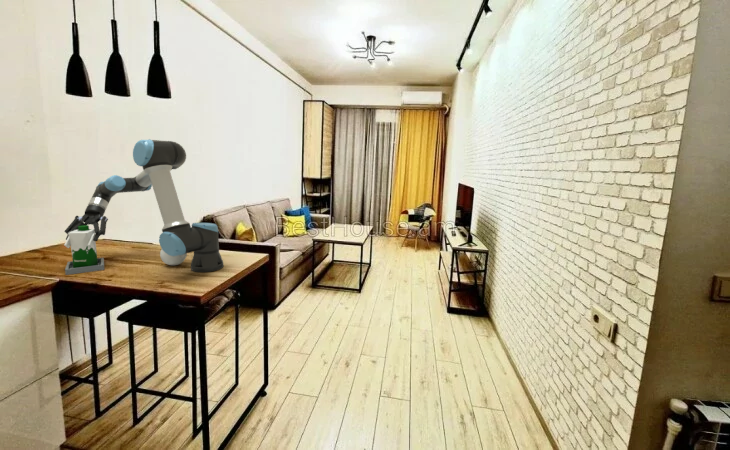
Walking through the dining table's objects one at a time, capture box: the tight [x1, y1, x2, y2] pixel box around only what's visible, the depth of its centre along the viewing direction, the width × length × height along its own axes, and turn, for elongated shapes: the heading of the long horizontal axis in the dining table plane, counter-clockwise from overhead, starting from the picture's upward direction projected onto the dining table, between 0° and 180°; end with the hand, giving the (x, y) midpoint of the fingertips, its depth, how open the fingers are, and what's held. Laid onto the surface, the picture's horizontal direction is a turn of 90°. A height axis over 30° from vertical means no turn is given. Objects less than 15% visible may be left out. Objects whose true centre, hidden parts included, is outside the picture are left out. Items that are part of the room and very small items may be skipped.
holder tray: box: [64, 257, 105, 276], centre depth 164 cm, size 14×14×2 cm
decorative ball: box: [159, 248, 188, 266], centre depth 173 cm, size 12×12×12 cm
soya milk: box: [67, 225, 98, 268], centre depth 162 cm, size 9×9×20 cm
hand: (78, 246), depth 159 cm, fingers open, 9 cm apart
